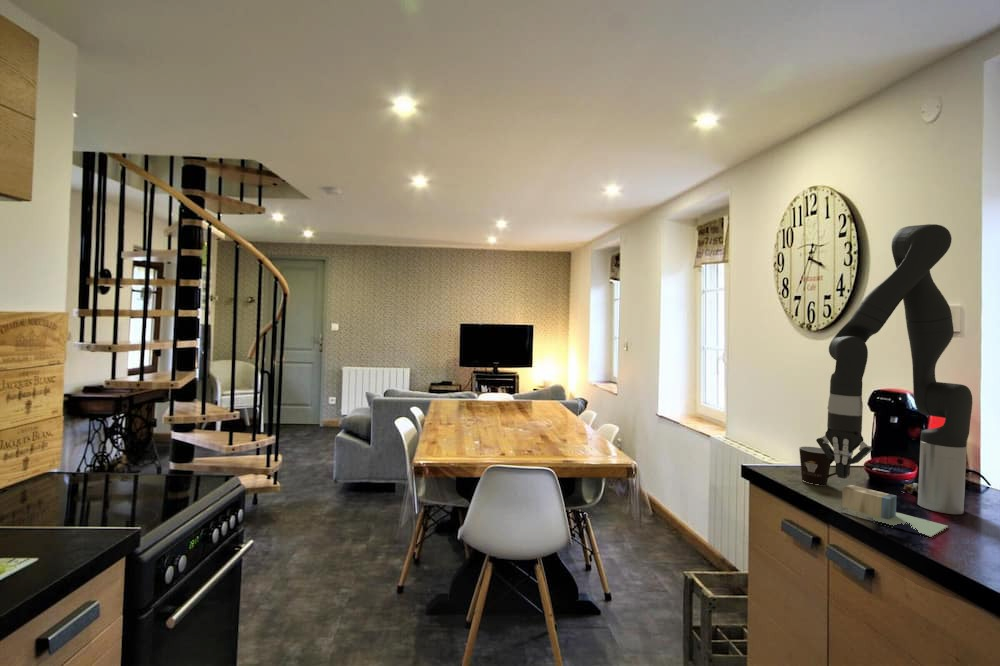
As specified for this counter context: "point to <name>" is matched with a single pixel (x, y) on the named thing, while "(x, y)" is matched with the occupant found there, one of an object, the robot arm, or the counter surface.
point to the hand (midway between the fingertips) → (842, 477)
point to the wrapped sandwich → (911, 487)
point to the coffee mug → (815, 465)
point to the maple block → (869, 501)
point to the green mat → (912, 523)
